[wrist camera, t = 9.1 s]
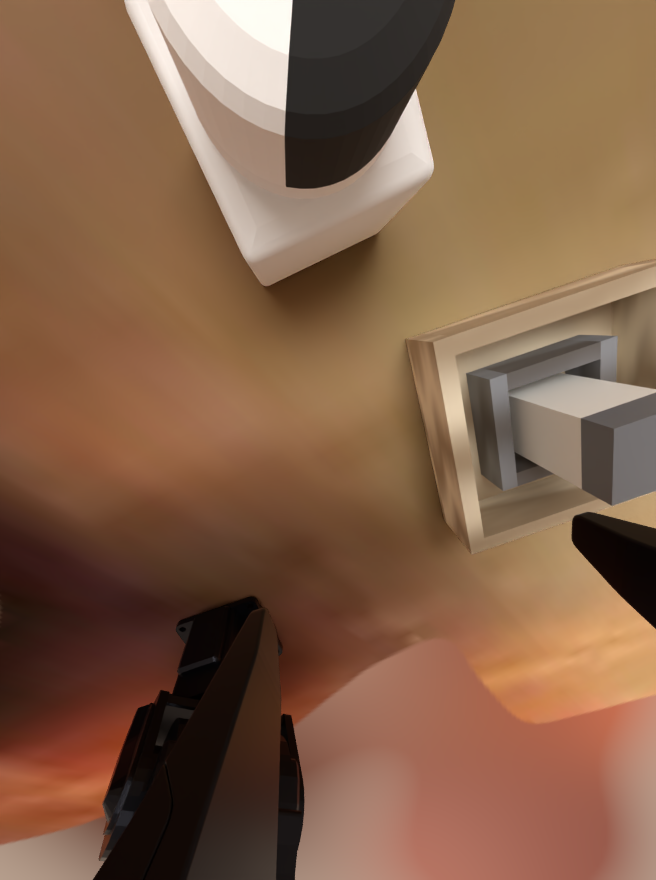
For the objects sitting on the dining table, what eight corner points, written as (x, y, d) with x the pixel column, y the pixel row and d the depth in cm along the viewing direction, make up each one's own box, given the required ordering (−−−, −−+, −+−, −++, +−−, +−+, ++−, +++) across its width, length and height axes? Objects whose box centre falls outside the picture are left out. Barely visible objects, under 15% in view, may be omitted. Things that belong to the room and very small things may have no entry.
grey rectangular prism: (555, 426, 22) (693, 477, 15) (502, 444, 22) (611, 506, 14) (553, 371, 21) (704, 397, 13) (495, 391, 21) (614, 428, 13)
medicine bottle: (328, 66, 14) (465, -826, 3) (381, 232, 17) (558, 52, 6) (191, 135, 15) (-116, -465, 4) (263, 289, 17) (216, 221, 6)
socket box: (615, 461, 24) (673, 485, 20) (444, 520, 24) (471, 554, 20) (622, 265, 19) (700, 250, 15) (405, 339, 19) (432, 342, 15)
